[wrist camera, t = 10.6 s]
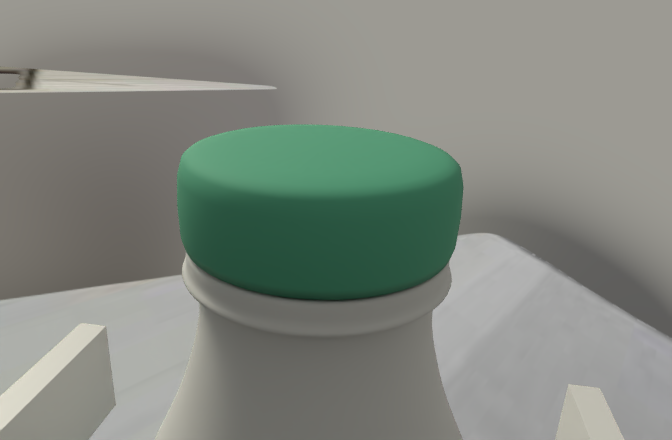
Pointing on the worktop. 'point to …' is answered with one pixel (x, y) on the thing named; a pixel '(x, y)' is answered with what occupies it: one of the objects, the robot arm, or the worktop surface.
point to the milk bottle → (315, 285)
